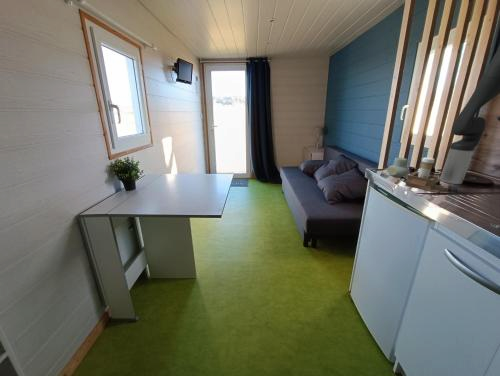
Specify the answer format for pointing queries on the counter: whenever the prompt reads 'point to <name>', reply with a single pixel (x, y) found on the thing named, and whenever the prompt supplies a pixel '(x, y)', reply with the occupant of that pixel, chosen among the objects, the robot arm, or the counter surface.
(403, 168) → the air freshener
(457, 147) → the robot arm
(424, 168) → the sprinkles bottle
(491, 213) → the counter surface
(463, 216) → the counter surface
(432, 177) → the spice socket
